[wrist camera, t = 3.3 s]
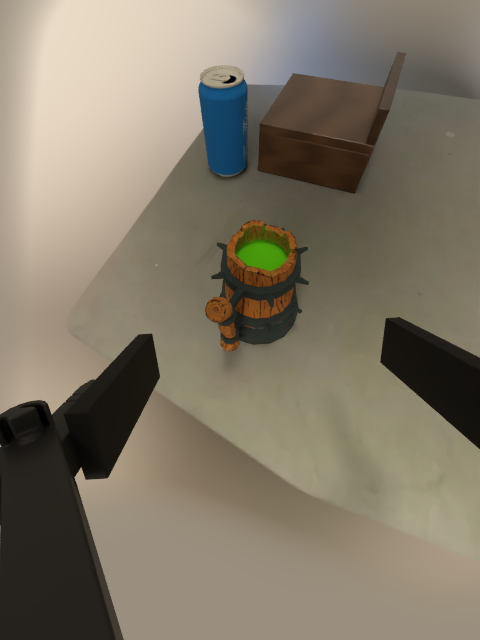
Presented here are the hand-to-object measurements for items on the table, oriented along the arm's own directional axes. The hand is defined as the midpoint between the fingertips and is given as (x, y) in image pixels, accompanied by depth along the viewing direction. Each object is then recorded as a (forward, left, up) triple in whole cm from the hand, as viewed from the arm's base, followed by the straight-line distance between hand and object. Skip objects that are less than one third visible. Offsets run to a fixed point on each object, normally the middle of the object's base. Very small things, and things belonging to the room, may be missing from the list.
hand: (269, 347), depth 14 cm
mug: (-4, +8, -14) cm, 16 cm away
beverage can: (-18, +33, -14) cm, 40 cm away
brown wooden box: (-5, +42, -14) cm, 44 cm away
